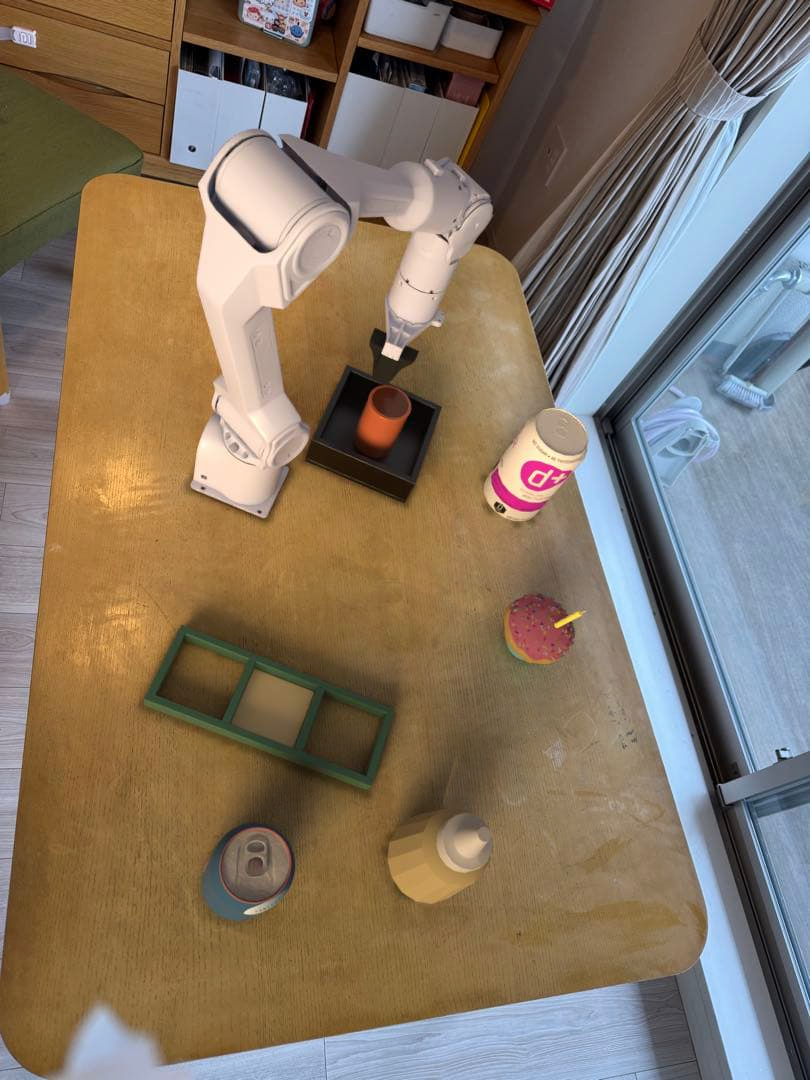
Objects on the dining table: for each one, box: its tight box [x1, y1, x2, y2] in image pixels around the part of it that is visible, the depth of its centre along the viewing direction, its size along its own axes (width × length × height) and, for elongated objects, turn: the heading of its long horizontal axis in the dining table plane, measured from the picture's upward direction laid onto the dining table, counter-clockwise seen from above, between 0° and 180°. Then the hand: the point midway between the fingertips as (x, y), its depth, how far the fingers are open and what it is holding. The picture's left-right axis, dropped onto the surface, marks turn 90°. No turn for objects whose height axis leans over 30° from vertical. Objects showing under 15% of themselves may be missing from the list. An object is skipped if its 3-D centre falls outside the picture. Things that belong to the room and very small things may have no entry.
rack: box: [143, 624, 396, 791], centre depth 79 cm, size 8×24×2 cm, turn 73°
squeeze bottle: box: [386, 806, 494, 905], centre depth 70 cm, size 8×8×18 cm
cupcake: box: [503, 593, 588, 665], centre depth 88 cm, size 9×8×12 cm
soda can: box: [200, 822, 296, 922], centre depth 67 cm, size 7×7×12 cm
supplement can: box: [483, 407, 590, 522], centre depth 97 cm, size 8×8×15 cm
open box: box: [304, 363, 443, 504], centre depth 99 cm, size 14×14×5 cm
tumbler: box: [353, 385, 411, 458], centre depth 97 cm, size 5×5×8 cm
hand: (389, 358), depth 95 cm, fingers open, 7 cm apart
